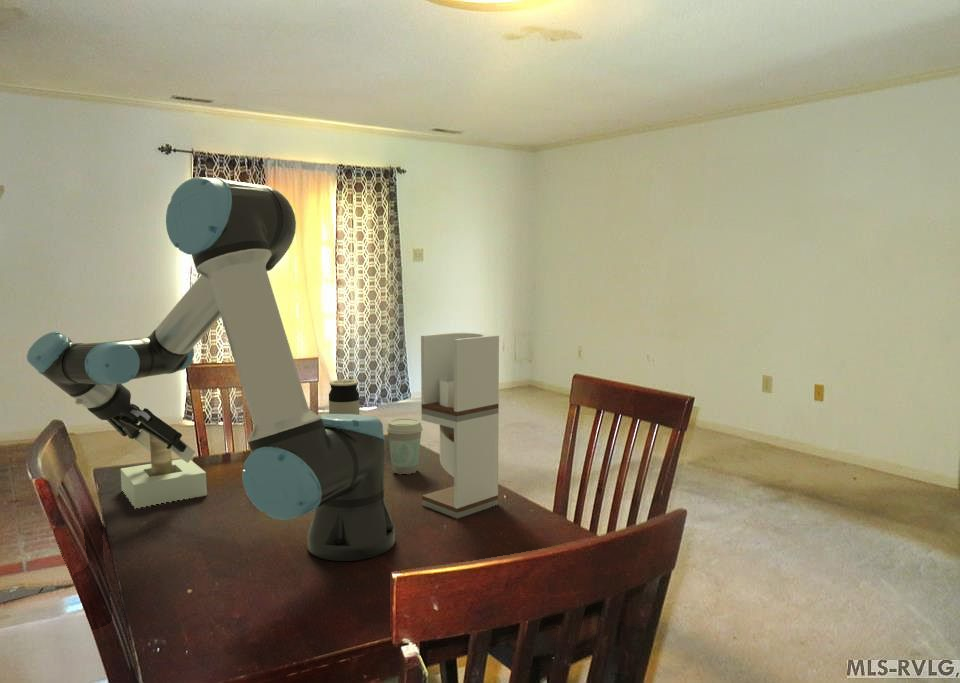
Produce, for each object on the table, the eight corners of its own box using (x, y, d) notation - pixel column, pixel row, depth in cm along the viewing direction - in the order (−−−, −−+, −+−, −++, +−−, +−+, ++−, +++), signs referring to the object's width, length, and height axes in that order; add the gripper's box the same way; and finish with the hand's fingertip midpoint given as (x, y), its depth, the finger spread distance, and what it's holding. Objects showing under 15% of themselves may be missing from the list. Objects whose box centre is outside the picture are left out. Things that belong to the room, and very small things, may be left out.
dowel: (177, 490, 151) (173, 427, 149) (161, 496, 147) (157, 431, 146) (165, 488, 153) (161, 425, 151) (149, 493, 149) (144, 429, 148)
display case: (462, 492, 151) (462, 331, 147) (498, 504, 143) (498, 335, 140) (422, 505, 143) (420, 335, 139) (457, 518, 135) (457, 339, 132)
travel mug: (365, 448, 187) (363, 382, 185) (337, 453, 182) (335, 385, 180) (352, 442, 193) (351, 378, 191) (325, 446, 188) (323, 381, 186)
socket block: (206, 495, 149) (205, 472, 148) (135, 509, 140) (133, 484, 140) (189, 479, 160) (188, 457, 159) (121, 490, 151) (120, 468, 151)
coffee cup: (379, 472, 165) (378, 422, 164) (403, 464, 172) (402, 416, 171) (406, 478, 161) (406, 427, 159) (430, 469, 168) (429, 420, 166)
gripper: (55, 404, 139) (131, 461, 155) (126, 416, 129) (200, 476, 145) (79, 374, 143) (151, 433, 159) (150, 383, 133) (219, 445, 149)
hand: (174, 453), depth 152 cm, fingers open, 9 cm apart
